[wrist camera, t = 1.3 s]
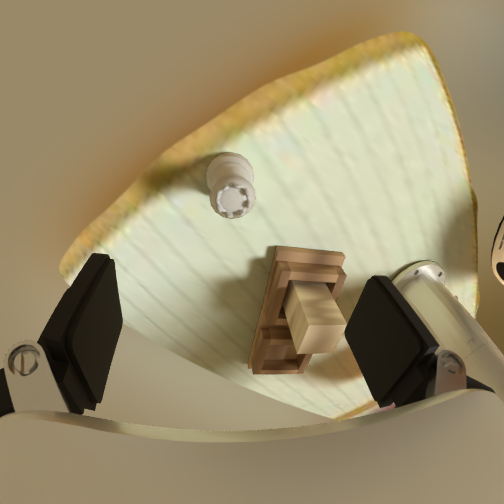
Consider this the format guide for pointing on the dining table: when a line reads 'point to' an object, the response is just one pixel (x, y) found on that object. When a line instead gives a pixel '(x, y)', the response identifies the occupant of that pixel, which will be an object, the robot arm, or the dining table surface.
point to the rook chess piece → (231, 185)
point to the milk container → (498, 253)
